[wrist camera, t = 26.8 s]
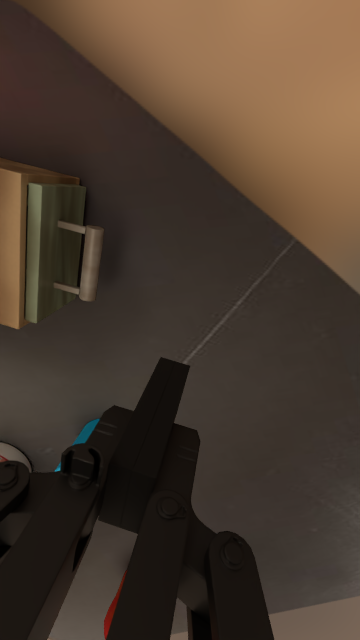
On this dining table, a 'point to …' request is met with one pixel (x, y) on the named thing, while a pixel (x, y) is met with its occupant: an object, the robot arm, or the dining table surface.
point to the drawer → (58, 249)
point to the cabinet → (17, 234)
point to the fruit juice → (12, 455)
